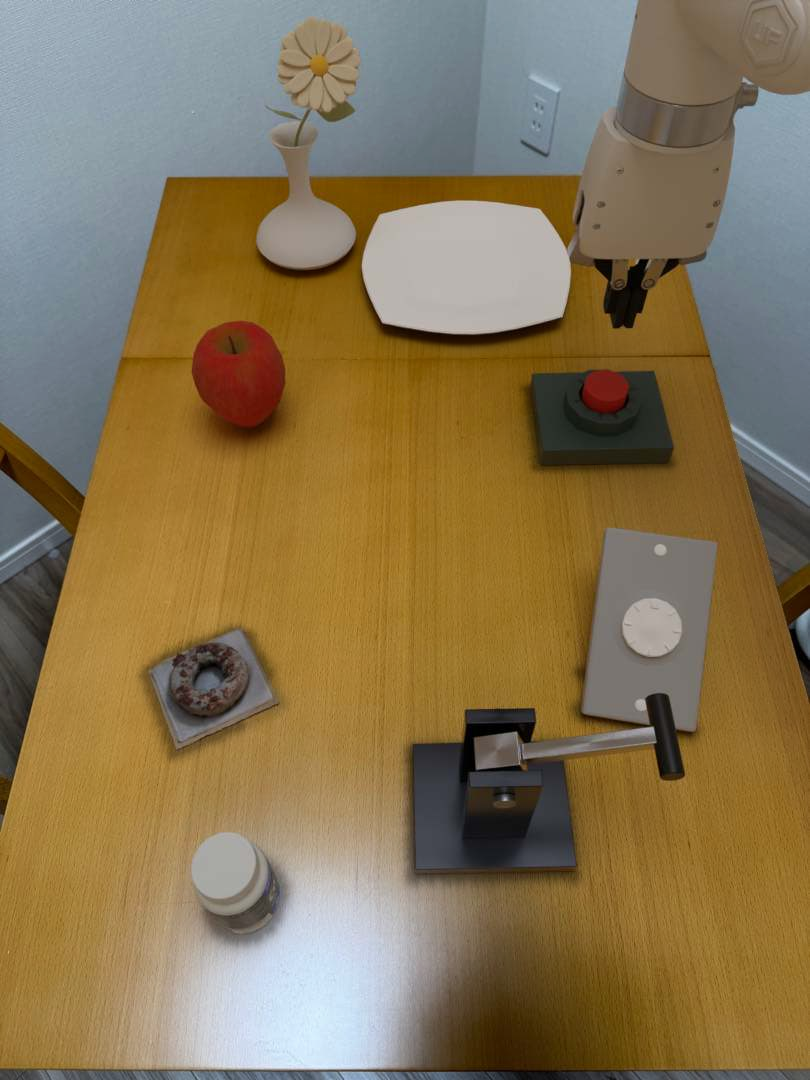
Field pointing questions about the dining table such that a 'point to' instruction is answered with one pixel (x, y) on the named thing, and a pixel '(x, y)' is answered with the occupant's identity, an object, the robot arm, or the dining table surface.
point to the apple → (239, 372)
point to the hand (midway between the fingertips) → (619, 317)
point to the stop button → (605, 391)
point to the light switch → (649, 626)
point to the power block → (599, 422)
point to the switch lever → (589, 745)
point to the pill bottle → (235, 882)
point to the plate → (466, 268)
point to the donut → (211, 687)
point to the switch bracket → (489, 805)
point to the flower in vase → (323, 85)
